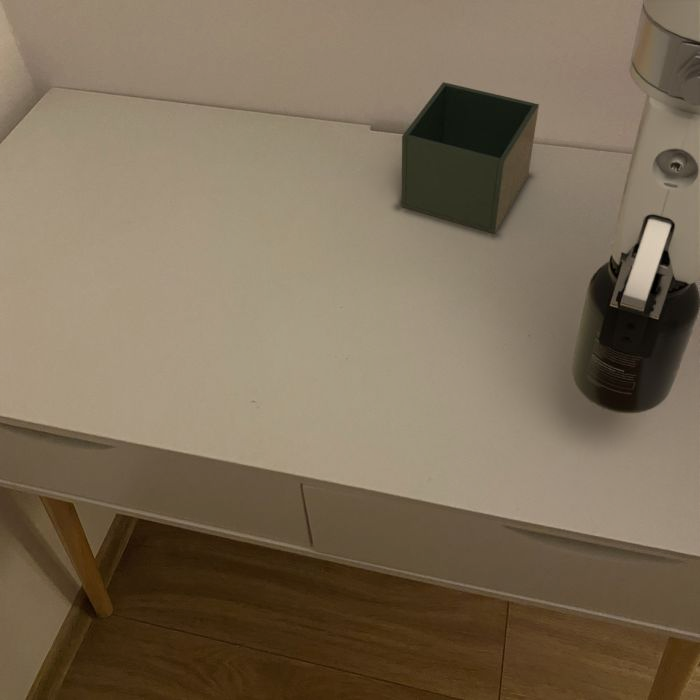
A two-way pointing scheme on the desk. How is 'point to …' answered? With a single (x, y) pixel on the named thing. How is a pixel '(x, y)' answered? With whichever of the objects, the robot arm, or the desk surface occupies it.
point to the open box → (467, 156)
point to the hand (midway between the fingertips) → (640, 306)
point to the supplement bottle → (624, 368)
